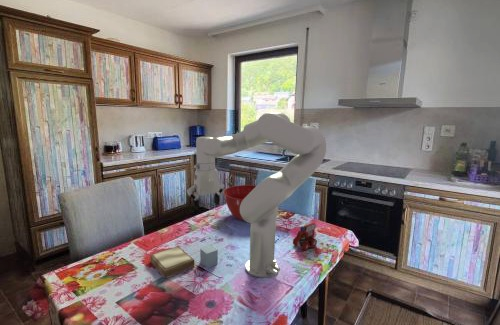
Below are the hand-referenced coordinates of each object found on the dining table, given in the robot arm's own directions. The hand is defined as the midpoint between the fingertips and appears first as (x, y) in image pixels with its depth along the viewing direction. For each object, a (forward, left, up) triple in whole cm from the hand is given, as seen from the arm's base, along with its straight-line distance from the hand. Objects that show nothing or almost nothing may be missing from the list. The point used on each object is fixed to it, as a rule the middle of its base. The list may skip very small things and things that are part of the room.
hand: (206, 206), depth 112 cm
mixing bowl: (+20, -40, -21) cm, 49 cm away
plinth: (-1, +16, -20) cm, 26 cm away
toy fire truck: (-24, -38, -21) cm, 49 cm away
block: (-9, +4, -21) cm, 23 cm away
